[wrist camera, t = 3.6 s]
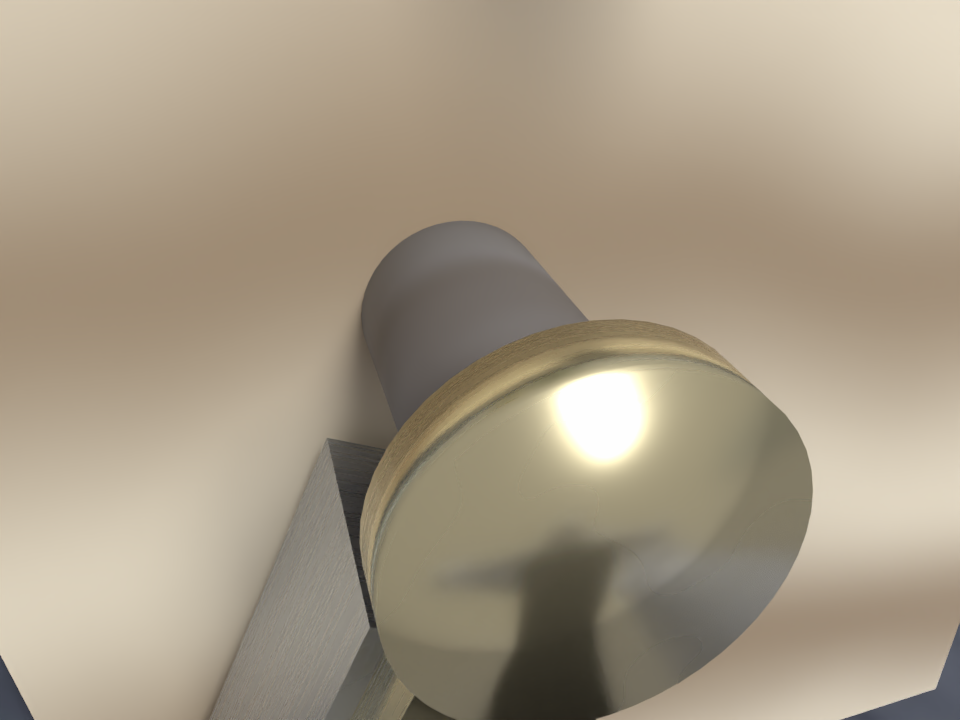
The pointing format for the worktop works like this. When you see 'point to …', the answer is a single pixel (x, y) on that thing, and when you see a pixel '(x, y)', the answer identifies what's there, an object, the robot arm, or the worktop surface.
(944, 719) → the worktop surface
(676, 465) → the lock bar
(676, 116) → the jamb board
